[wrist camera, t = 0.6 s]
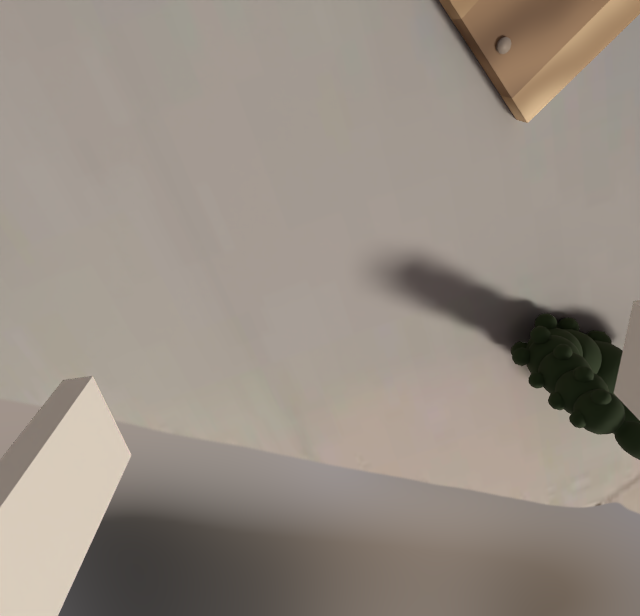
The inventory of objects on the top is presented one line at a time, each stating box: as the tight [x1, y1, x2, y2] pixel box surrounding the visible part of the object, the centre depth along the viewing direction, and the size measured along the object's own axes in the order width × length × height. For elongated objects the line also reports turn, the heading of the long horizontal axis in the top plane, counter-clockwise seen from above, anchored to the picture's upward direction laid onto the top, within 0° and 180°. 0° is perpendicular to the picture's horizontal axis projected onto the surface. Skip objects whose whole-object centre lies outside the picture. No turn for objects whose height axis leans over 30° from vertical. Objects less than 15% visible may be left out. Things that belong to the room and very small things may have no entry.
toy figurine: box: [511, 314, 640, 460], centre depth 44 cm, size 9×19×25 cm
